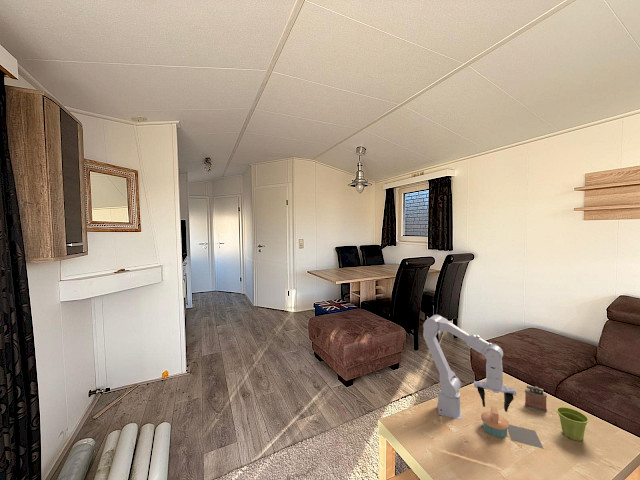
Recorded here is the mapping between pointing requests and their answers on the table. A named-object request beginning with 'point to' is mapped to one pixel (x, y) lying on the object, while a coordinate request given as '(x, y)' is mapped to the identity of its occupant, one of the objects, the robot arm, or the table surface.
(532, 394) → the lighter
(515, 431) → the mat
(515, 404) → the table surface
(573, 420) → the plant pot
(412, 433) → the table surface
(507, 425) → the lid
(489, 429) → the bowl
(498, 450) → the table surface
